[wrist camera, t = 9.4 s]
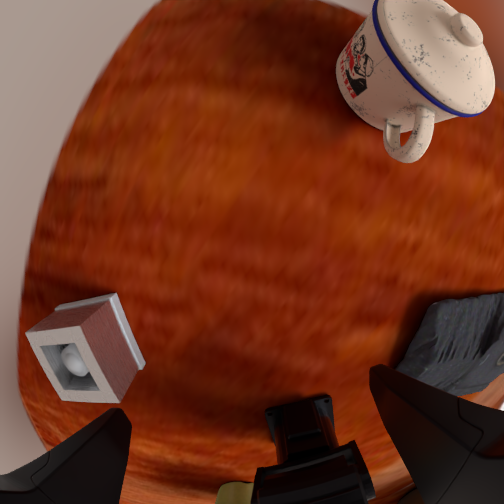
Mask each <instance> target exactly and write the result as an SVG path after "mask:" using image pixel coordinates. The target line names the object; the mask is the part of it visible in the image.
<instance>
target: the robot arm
mask: <svg viewBox="0 0 504 504" xmlns="http://www.w3.org/2000/svg"><path fill="white" fill-rule="evenodd" d="M369 386H370V390H371V393H372V396H373V398H374V401H375V403H376V406H377V408H378V411H379V414H380V416H381V419H382V421H383V424H384V426H385V428H386V430H387V432H388V434H389V435H390V437H391V439H392V441H393V443H394V445H395V447H396V448H397V450H398V452H399V454H400V456H401V458H402V460H403V462H404V464H405V466H406V467H407V469H408V471H409V473H410V475H411V477H412V479H413V481H414V483H415V485H416V487H417V489H418V491H419V493H420V495H421V497H422V499H423V501H424V503H425V504H504V411H502V410H498V409H494V408H490V407H486V406H482V405H479V404H476V403H473V402H471V401H468V400H465V399H463V398H460V397H459V398H458V397H457V396H455V395H452V394H450V393H448V392H445V391H443V390H440V389H438V388H436V387H433V386H431V385H428V384H426V383H424V382H421V381H419V380H417V379H415V378H412V377H410V376H408V375H405V374H403V373H401V372H399V371H396V370H394V369H392V368H390V367H388V366H385V365H383V364H378V365H375V366H372V367H371V368H370V371H369ZM326 399H328V400H326ZM270 412H271V413H270ZM265 417H266V420H267V423H268V426H269V429H270V432H271V435H272V438H273V441H274V444H275V446H276V453H277V462H278V465H273V466H269V467H259V468H257V472H256V475H255V479H254V485H253V491H252V496H251V502H250V503H251V504H368V500H371V499H373V498H376V495H375V490H374V487H373V483H372V480H371V477H370V474H369V472H368V469H367V467H366V464H365V462H364V460H363V458H362V455H361V453H360V451H359V449H358V447H357V444H356V442H355V440H353V441H350V442H349V443H348V444H345V445H342V446H339V444H338V441H337V438H336V435H335V429H334V417H333V406H332V399H331V396H330V395H324V396H320V397H317V398H313V399H309V400H305V401H300V402H296V403H292V404H287V405H282V406H277V407H272V408H268V409H266V410H265ZM131 431H132V425H131V422H130V421H129V419H128V418H127V416H126V414H125V413H124V411H123V410H122V409H121V408H110V409H109V410H107V411H106V412H105V413H103V414H102V415H100V416H99V417H98V418H96V419H95V420H93V421H92V422H91V423H89V424H88V425H86V426H85V427H83V428H82V429H81V430H79V431H78V432H76V433H75V434H73V435H72V436H70V437H69V438H67V439H66V440H65V441H63V442H62V443H60V444H59V445H57V446H56V447H54V448H53V449H51V451H48V452H46V453H45V454H43V455H42V456H40V457H39V458H37V459H35V460H33V461H32V462H30V463H28V464H26V465H24V466H22V467H20V468H18V469H16V470H14V471H12V472H10V473H8V474H5V475H0V504H119V500H120V495H121V490H122V485H123V480H124V475H125V471H126V466H127V461H128V455H129V447H130V438H131Z"/></svg>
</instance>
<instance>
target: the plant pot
mask: <svg viewBox="0 0 504 504" xmlns="http://www.w3.org/2000/svg"><path fill="white" fill-rule="evenodd" d="M253 485H254V483H249V484H246V483H242V482H230V483H226V484H224V485H222V486H221V487H220V489H219V491H218V494H217V498H216V502H215V504H251V503H250V502H251V496H252V491H253Z"/></svg>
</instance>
